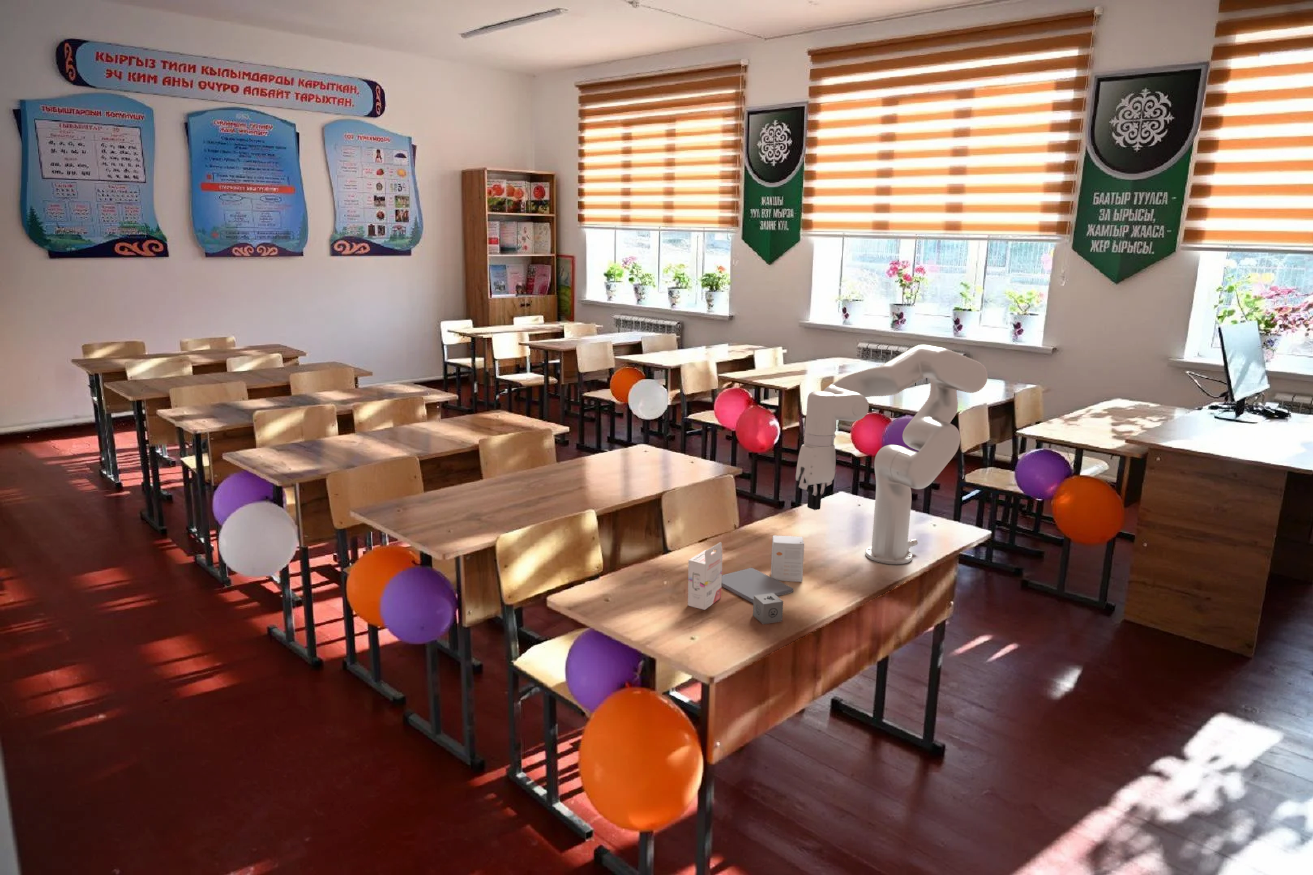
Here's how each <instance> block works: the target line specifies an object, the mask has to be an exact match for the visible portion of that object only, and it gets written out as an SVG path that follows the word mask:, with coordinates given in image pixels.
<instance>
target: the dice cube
mask: <svg viewBox="0 0 1313 875" xmlns="http://www.w3.org/2000/svg"><path fill="white" fill-rule="evenodd" d="M752 606H753V607H752V609H753V610H752V616H753V617H754V618H755V619H756V620H757V621H759V622H760V623H761V625H767V624H775V623H780V622H783V615H784V614H783V613H784V601H783V599H781V598H780V596H778V597H777V596H776V595H775V594H774V593H769V594H762V595H755V596H754V603H752Z"/></svg>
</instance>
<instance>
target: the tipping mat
mask: <svg viewBox="0 0 1313 875" xmlns="http://www.w3.org/2000/svg"><path fill="white" fill-rule="evenodd" d="M722 587H723V589H724V588H725V589H726V590H727V591H730V592H731V593H733V594H735V595H737V596H739V597H741V598H743V599H744V600H746V601H748V602H750V603H751V604H753V603H754V596H755V595H762V594H769V593H774V594H775V595H776V596H777V597H781V596H783V595H784V596H785V595H788V594H791V593H794V588H793V587H792V586H790V585H788V584H786V583H783V581H778V580H776V579H774V578H772V577H771V575H767V574H765V573H764V572H762V571H759V570H758V569H756V568H753V567H748V568H746V569H745V568H744V569H741V570H737V571H734V572H733V571H732V572H730V573H726V574H722V583H721V588H722Z"/></svg>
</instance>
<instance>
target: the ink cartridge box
mask: <svg viewBox="0 0 1313 875" xmlns="http://www.w3.org/2000/svg"><path fill="white" fill-rule="evenodd" d="M722 546H723V544H722V542H721V541H720V542H718V543H716V544H714V545H713V546H711V547H709V548H708V549H704V550H703V551H701V552H700V553H698V554H696V555H694V556H693V557H691V558H689V559H688V560H687V561H688V565H687V566H688V567H687V568H688V571H687V573H688V575H687V576H688V577H687V578H688V579H687V580H688V582H687V606H688V607H691V608H695V609H696V608H697V609H699V610H704V611H705V610H707V609H708V608H709V607H711V606H712V605H714V604H715V603H716V602H717V601H719V600H720V599H721V598H722V586H721V583H722V575H723V574H722V573H723V548H722Z"/></svg>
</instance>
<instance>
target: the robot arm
mask: <svg viewBox="0 0 1313 875" xmlns="http://www.w3.org/2000/svg"><path fill="white" fill-rule="evenodd" d="M988 375H989V374H988V371H987V368H986V366H985V365H984V364H983V363H981V362H980V361H977V360H976V359H973V358H971V357H968V356H965V355H963V354H961V353H958V352H956V351H953V350H951V349H949V348H945V347H940V346H935V345H929V344H917V345H915V346H912V347H911V348H909V349H907V350H905V351H904V352H902V353H900V354H898V355H897V356H895V357H893V358H892V359H890V360H889V361H887V362H885V363H883V364H881V365H878V366H875V367H871V368H868V369H864V370H861V371H856V372H854V373H851V374H848V375H845V376H843V377H841V378H839V379H838V380H836V381H834V382H833V383H831V384H829V385H828V386H826V388H824V389H823V390H815V391H814V390H813V391H810V392H809V394H808V395H807V401H806V411H805V412H806V415H805V417H806V418H805V424H804V427H805V428H804V438H803V439H804V440H803V444H801V446H800V449H799V453H798V456H797V465H796V473H795V480H796V481H797V482H799V485H798V488H800V489H802V490H805V491H806V494H807V506H806V507H807V508H808V509H811V510H813V511H817V510H821V505H822V495H824V492H825V489H826V487H828V486H830V485H832V484H833V480H834V479H835V474H836V464H837V463H836V462H837V461H836V459H837V458H836V457H837V456H836V454H837V453H836V446H835V439H836V424H837V421H844V422H856V421H860V420H862V419H863V418H865V416H867V414H868V412H869V408H870V407H869V406H870V404H869V400H867V398H870V397H887V396H894V395H897V394H900V393H901V392H902V391H904V390H906V389H907V388H909V387H911V386H912V385H914V384H915V383H918V382H919V381H922V380H923V379H929V382H930V384H929V385H930V389H929V390H930V391H929V394H928V395H929V396H928V398H927V400H926V401H925V402H924V403H923V405H922V406H921V408H920V409H919V410H918V411H917V412H916V414H915V415H914V416H913V417H912V419H911V420H910V421H909V422H908V424H907V425H906V426H905V427H904V429H903V432H902V441H903V443H904V444H905V445H906V446H908V447H909V448H908V447H905V446H902V445H899V444H898V445H897V444H888V445H884V446H883V447H881V448H880V449H879V450H878V451H877V453H876V454H875V457H874V463H873V464H874V474H875V475H874V476H875V500H874V509H873V510H874V514H873V522H872V523H873V524H872V535H871V537H872V538H871V546H868V547H867V548H866V549H865V556H866V558H868V559H869V560H871V561H874V562H877V563H880V564H886V565H905V564H908V563H910V562H911V561H912V560H913V554H912V552H911V551H910V548H911V547H912V548H913V547H916V546H918V544H919V542H918V540H917V539H916V538H912V539H909V531H910V530H909V529H910V523H911V522H910V520H911V509H912V501H913V500H912V489H914V490H923V489H926V488H927V487H928V486H930V485H931V484H932V483H933V482H934V481H935V479H937V478H938V476H939V475H940V474H941V472H942V471H943V470H944V469H945V467H946V466H947V465H948V463H950V461H951V460H952V459H953V457H954V456H955V455H956V453H957V452H958V450H959V447H960V444H961V434H960V431H959V429H958V428H957V427H956V425H954V424H952V423H951V422H952V420H953V419H954V418H955V416H956V415H957V412H958V409H959V402H958V401H959V400H958V393H957V391H958V392H964V393H969V394H973V393H978V392H979V391H981V390H982V389H983V388H984V387H985V386H986V384H987V381H988V378H989V376H988ZM913 449H914V450H913Z"/></svg>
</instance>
